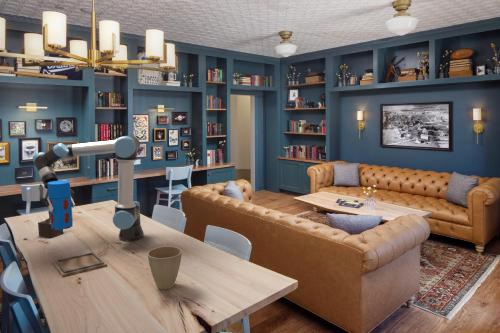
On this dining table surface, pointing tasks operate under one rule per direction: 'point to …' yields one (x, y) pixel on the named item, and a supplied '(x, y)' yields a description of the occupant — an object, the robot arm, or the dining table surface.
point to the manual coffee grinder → (48, 229)
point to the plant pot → (164, 265)
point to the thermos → (60, 205)
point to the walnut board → (79, 264)
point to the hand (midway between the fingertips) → (63, 208)
